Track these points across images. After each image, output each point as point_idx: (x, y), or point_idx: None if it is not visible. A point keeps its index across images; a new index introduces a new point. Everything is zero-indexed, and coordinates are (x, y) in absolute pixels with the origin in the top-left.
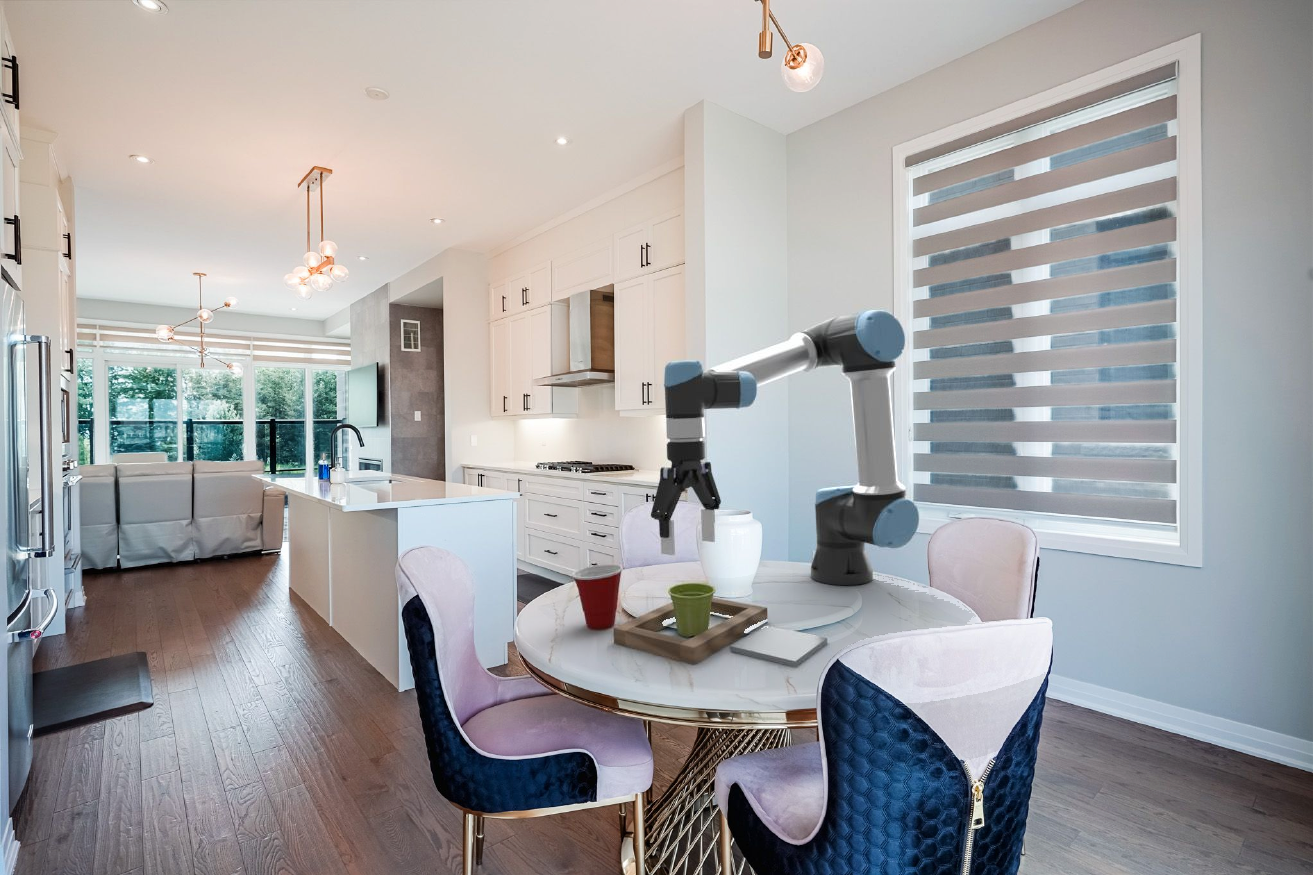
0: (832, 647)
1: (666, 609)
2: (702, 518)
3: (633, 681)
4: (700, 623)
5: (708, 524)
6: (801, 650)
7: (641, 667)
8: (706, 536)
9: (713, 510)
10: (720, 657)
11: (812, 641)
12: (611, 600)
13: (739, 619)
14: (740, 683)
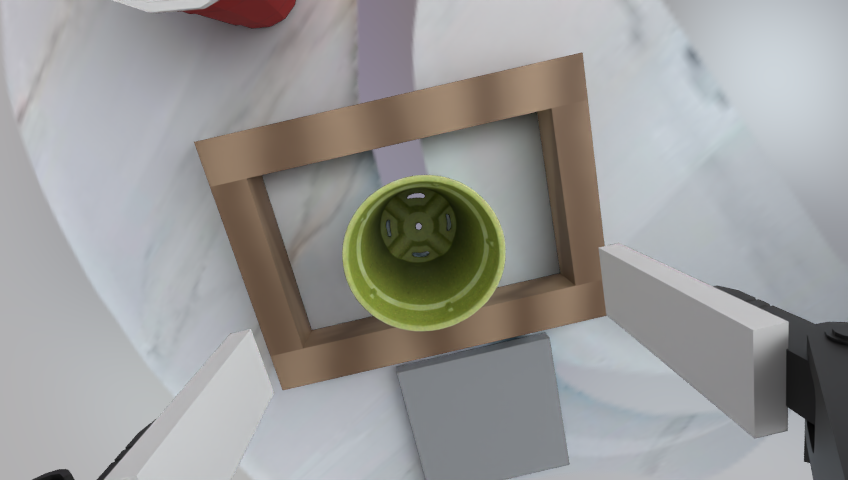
0: (552, 472)
1: (412, 124)
2: (688, 308)
3: (144, 351)
4: (408, 277)
5: (664, 336)
6: (480, 473)
7: (194, 308)
8: (616, 285)
9: (775, 429)
10: (359, 375)
11: (533, 459)
12: (231, 18)
13: (492, 330)
14: (305, 474)
